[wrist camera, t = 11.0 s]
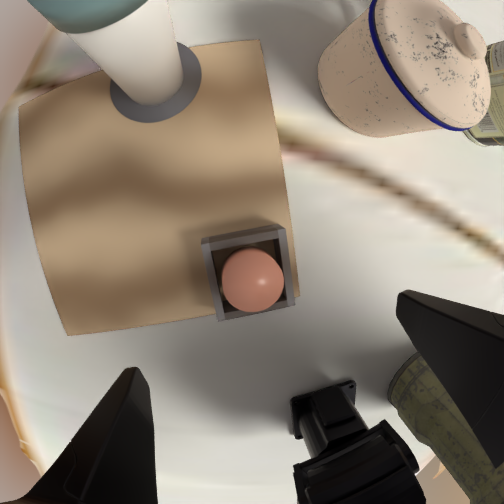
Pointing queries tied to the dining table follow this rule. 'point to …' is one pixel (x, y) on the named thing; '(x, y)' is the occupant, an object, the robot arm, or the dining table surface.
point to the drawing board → (156, 192)
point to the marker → (124, 42)
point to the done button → (251, 279)
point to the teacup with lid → (406, 70)
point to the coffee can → (492, 101)
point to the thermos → (445, 431)
